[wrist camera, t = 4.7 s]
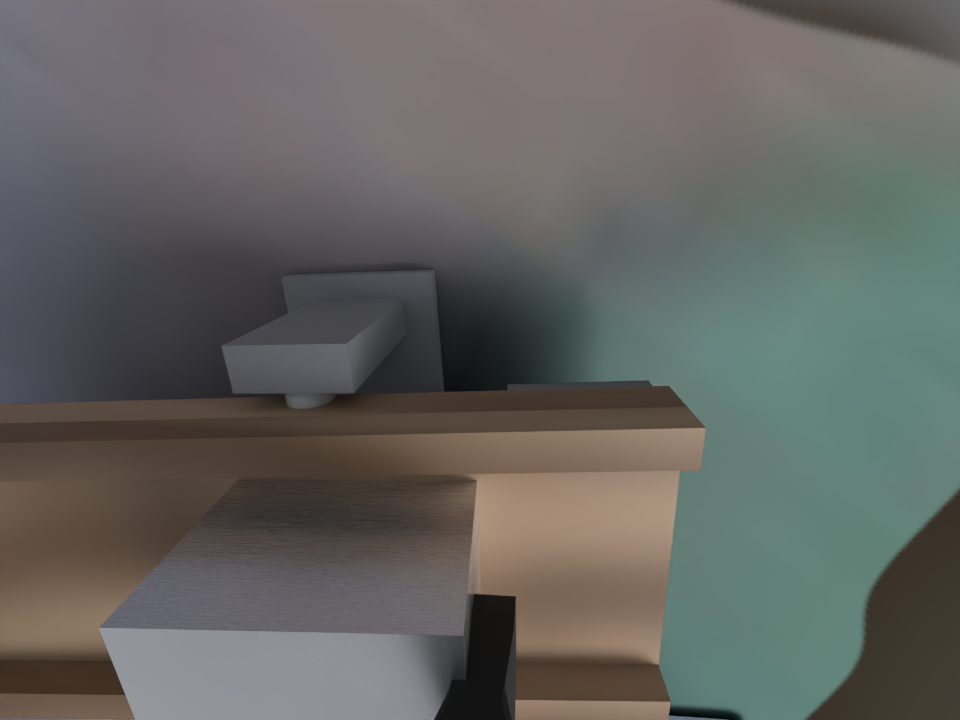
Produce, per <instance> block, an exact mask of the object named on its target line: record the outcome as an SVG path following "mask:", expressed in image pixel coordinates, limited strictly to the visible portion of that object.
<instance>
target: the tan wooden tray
mask: <svg viewBox="0 0 960 720" xmlns="http://www.w3.org/2000/svg"><path fill="white" fill-rule="evenodd" d="M705 430H706V428H705V426H704V425H703V424H702V423H701V422H700V421H699V420H698V419H697V417H696V416H695V415H694V414H693V413H692V412H691V411H690V410H689V408H688V407H687V406H686V405H685V404H684V403H683V402H682V400H681V399H680V398H679V397H678V396H677V395H676V394H675V393H674V391H673V390H672V389H671V388H670V387H669V386H652V385H651V384H650V382H649V381H613V382H577V383H540V384H507V390H502V391H465V392H427V393H390V394H353V395H336V393H285V396H278V397H240V398H203V399H165V400H128V401H91V402H53V403H16V404H0V717H8V718H72V719H135V718H134V715H133V713H132V710H131V708H130V705H129V703H128V700H127V698H126V695H125V693H124V690H123V688H122V685H121V683H120V680H119V678H118V675H117V673H116V670H115V668H114V665H113V663H112V660H111V658H110V655H109V653H108V650H107V648H106V645H105V643H104V640H103V638H102V635H101V633H100V630H99V627H100V626H101V625H102V624H103V623H104V622H105V620H106V619H107V618H108V617H109V616H110V615H111V614H112V613H113V612H114V611H115V610H116V609H117V608H118V607H119V606H120V604H121V603H122V602H123V601H124V600H125V599H126V598H127V597H128V596H129V595H130V594H131V593H132V592H133V591H134V590H135V589H136V587H137V586H138V585H139V584H140V583H141V582H142V581H143V580H144V579H145V578H146V577H147V576H148V575H149V574H150V573H151V571H152V570H153V569H154V568H155V567H156V566H157V565H158V564H159V563H160V562H161V561H162V560H163V559H164V558H165V557H166V556H167V554H168V553H169V552H170V551H171V550H172V549H173V548H174V547H175V546H176V545H177V544H178V543H179V542H180V541H181V540H182V539H183V537H184V536H185V535H186V534H187V533H188V532H189V531H190V530H191V529H192V528H193V527H194V526H195V525H196V524H197V523H198V521H199V520H200V519H201V518H202V517H203V516H204V515H205V514H206V513H207V512H208V511H209V510H210V509H211V508H212V507H213V506H214V504H215V503H216V502H217V501H218V500H219V499H220V498H221V497H222V496H223V495H224V494H225V493H226V492H227V491H228V490H229V488H230V487H231V486H232V485H233V484H234V483H235V482H236V481H237V480H329V481H477V492H478V523H479V554H480V584H481V594H486V595H502V596H516V701H515V720H668V719H669V711H670V703H671V701H670V698H669V695H668V692H667V689H666V686H665V683H664V680H663V677H662V674H661V671H660V669H659V666H658V664H659V655H660V646H661V637H662V628H663V619H664V610H665V601H666V592H667V583H668V574H669V565H670V556H671V547H672V538H673V529H674V520H675V511H676V502H677V493H678V484H679V475H680V471H692V470H700V469H701V461H702V453H703V446H704V438H705Z"/></svg>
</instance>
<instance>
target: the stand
mask: <svg viewBox="0 0 960 720" xmlns="http://www.w3.org/2000/svg"><path fill="white" fill-rule="evenodd" d="M281 281H282V286H283V291H284V296H285V302H286V307H287V312H288V314H286V315H284V316H281V317H279V318H277V319H275V320H273V321H271V322H269V323H267V324H265V325H263V326H261V327H259V328H257V329H255V330H253V331H251V332H249V333H247V334H245V335H243V336H240V337H238V338H236V339H234V340H232V341H230V342H228V343H226V344H224V345H222V346H221V347H222V351H223V355H224V359H225V363H226V367H227V371H228V375H229V379H230V383H231V387H232V391H233V394H258V393H336V395H353V394H390V393H427V392H444V380H443V368H442V355H441V343H440V330H439V318H438V305H437V293H436V281H435V269H430V270H401V271H372V272H343V273H314V274H289V275H286V276H283V277H281Z"/></svg>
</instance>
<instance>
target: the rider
mask: <svg viewBox="0 0 960 720" xmlns="http://www.w3.org/2000/svg"><path fill="white" fill-rule="evenodd" d="M474 594H481V584H480V554H479V523H478V492H477V481H329V480H237V481H236V482H235V483H234V484H233V485H232V486H231V487H230V488H229V490H228V491H227V492H226V493H225V494H224V495H223V496H222V497H221V498H220V499H219V500H218V501H217V502H216V503H215V504H214V506H213V507H212V508H211V509H210V510H209V511H208V512H207V513H206V514H205V515H204V516H203V517H202V518H201V519H200V520H199V521H198V523H197V524H196V525H195V526H194V527H193V528H192V529H191V530H190V531H189V532H188V533H187V534H186V535H185V536H184V537H183V539H182V540H181V541H180V542H179V543H178V544H177V545H176V546H175V547H174V548H173V549H172V550H171V551H170V552H169V553H168V554H167V556H166V557H165V558H164V559H163V560H162V561H161V562H160V563H159V564H158V565H157V566H156V567H155V568H154V569H153V570H152V571H151V573H150V574H149V575H148V576H147V577H146V578H145V579H144V580H143V581H142V582H141V583H140V584H139V585H138V586H137V587H136V589H135V590H134V591H133V592H132V593H131V594H130V595H129V596H128V597H127V598H126V599H125V600H124V601H123V602H122V603H121V604H120V606H119V607H118V608H117V609H116V610H115V611H114V612H113V613H112V614H111V615H110V616H109V617H108V618H107V619H106V620H105V622H104V623H103V624H102V625H101V626H100V627H99V630H100V633H101V635H102V638H103V640H104V643H105V645H106V648H107V650H108V653H109V655H110V658H111V660H112V663H113V665H114V668H115V670H116V673H117V675H118V678H119V680H120V683H121V685H122V688H123V690H124V693H125V695H126V698H127V700H128V703H129V705H130V708H131V710H132V713H133V715H134V718H135V720H434V718H435V716H436V714H437V713H438V711H439V709H440V707H441V705H442V703H443V701H444V698H445V696H446V694H447V692H448V690H449V688H450V685H451V680H466V671H467V660H468V649H469V638H470V627H471V617H472V607H473V598H474Z"/></svg>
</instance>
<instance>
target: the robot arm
mask: <svg viewBox="0 0 960 720" xmlns="http://www.w3.org/2000/svg"><path fill="white" fill-rule="evenodd" d="M515 701H516V596H502V595H486V594H474V598H473V607H472V617H471V627H470V638H469V649H468V660H467V671H466V680H451V685H450V688H449V690H448V692H447V694H446V696H445V698H444V701H443V703H442V705H441V707H440V709H439V711H438V713H437V714H436V716H435V718H434V720H515ZM668 720H727V719H713V718H698V717H684V716H669V719H668Z"/></svg>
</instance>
